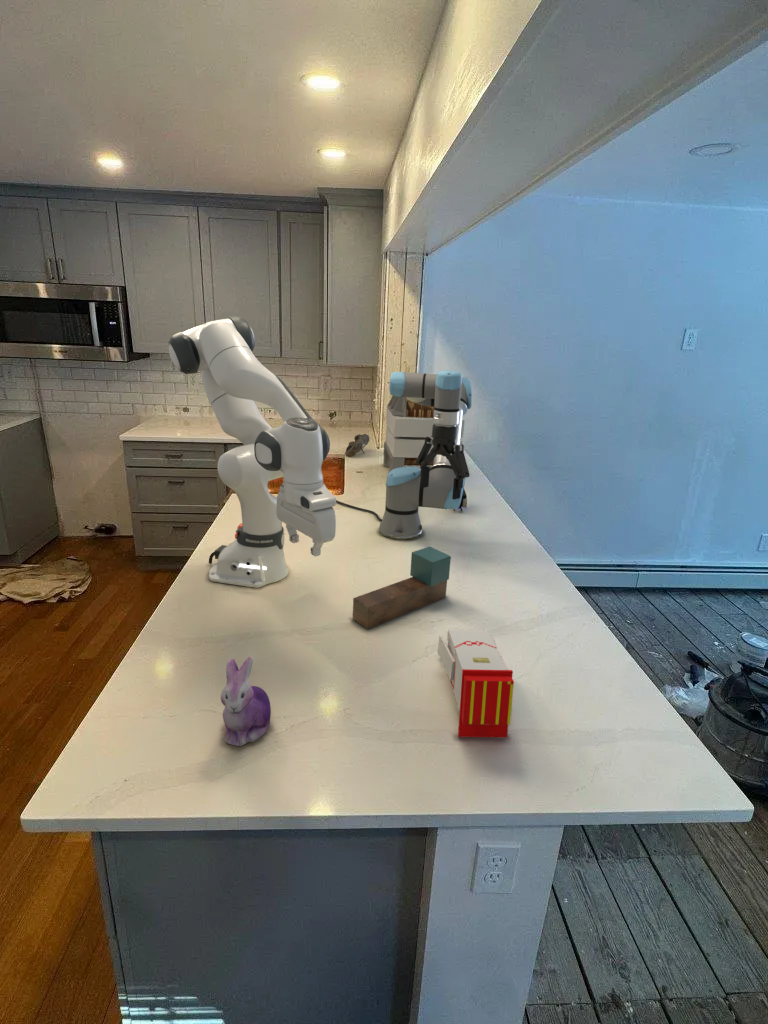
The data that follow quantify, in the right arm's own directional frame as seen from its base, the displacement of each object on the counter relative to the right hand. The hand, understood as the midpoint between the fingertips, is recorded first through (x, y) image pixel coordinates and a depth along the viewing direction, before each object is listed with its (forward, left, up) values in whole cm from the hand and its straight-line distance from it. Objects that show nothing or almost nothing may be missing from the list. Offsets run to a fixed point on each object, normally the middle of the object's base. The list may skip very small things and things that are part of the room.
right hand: (439, 492), depth 175 cm
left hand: (+12, -57, 0) cm, 58 cm away
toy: (+53, -43, -22) cm, 72 cm away
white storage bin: (-74, +64, -22) cm, 100 cm away
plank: (+18, -31, -22) cm, 42 cm away
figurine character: (-29, +42, -22) cm, 55 cm away
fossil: (-121, +63, -22) cm, 138 cm away
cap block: (+18, -21, -16) cm, 32 cm away
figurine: (+35, -85, -22) cm, 94 cm away
